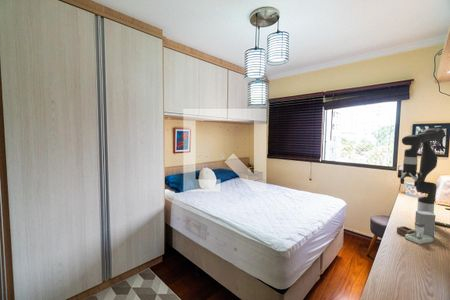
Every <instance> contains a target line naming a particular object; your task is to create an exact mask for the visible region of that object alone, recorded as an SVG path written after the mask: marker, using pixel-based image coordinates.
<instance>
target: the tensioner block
mask: <svg viewBox="0 0 450 300" xmlns="http://www.w3.org/2000/svg"><path fill="white" fill-rule="evenodd" d="M396 233H397V234H399V235H402V236H404V237H405V235H406V234H412V233H415V229H413V228H410V227H407V226H397V227H396Z"/></svg>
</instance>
